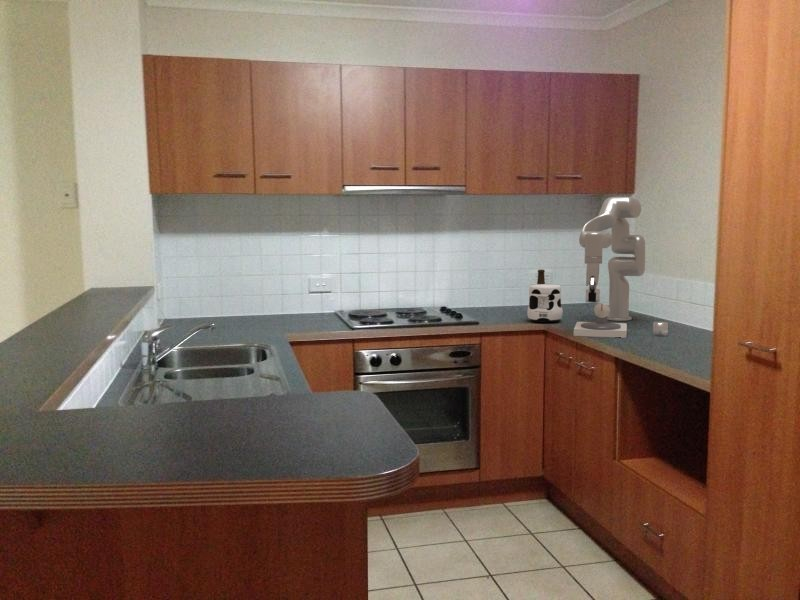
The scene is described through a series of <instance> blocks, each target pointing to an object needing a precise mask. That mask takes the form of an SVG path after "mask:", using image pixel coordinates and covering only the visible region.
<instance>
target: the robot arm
mask: <svg viewBox="0 0 800 600" xmlns="http://www.w3.org/2000/svg"><path fill="white" fill-rule="evenodd" d="M601 205H602V206H601V208H600V211H599V212H598V215H596V216H595V217H593V218H592V219H590V220H589V221H587V222H586V223H585V224H584V226H583V227H582V229H581V231H580V234H579V237H578V238H579V239H578V242H579V245H580V246H581V247H582V248H584V265H585V264H586V271H585V272H586V273H585V286H586V287H588V289H589V294H588V301H589V302H588V303H590V302H596V293H595V292H596V289H597V286H599V285H598V284H599V281H600V280H599V279H600V277H599V276H600V265H602V264H603V249H608V248H609V247H611V251H612V253H614V254H618V255H634V256H612V257H611V258H610V259H609V260H608V263H607V269H608V277H609V278H608V279H609V286H608V287H609V289H608V290H609V293H608V294H609V295H608V306H609V308H610V313H609V315H608V319H607V321H615V322H616V321H617V322H625V321H626V322H627V321H631V320H632V319H633V318H632V316H629V313H630V311H629V309H630V306H629V305H630V284H629V281H628V280H627V279H626V277H642V276H643V275H644V274H645V270H646V269H645V268H646V241H645V238H644V236H643V235H640V234H630V223H629V221H628V220H627V219H634V218H638V217H639V216H640V215H641V212H642V204H641V202H640V201H639V200H638V199H636V198H635V197H632V196H609V197H607V198H606V199H605V200H604V201H603V203H602V204H601ZM608 229H609V230H610V229H611V232H609V231H606V230H608Z"/></svg>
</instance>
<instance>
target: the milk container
mask: <svg viewBox="0 0 800 600" xmlns="http://www.w3.org/2000/svg"><path fill="white" fill-rule="evenodd" d="M526 312H527V318H528V319H529V320H530V321H531V322H536V323H537V322H538V323H554V322H559V321H561V320H562V318H563V312H564V311H563V307H562V287H561V285H559V284H554V283H553V284H551V283H550V284H548V283H545V284H537V283H536V284H531V285H529V289H528V306H527V311H526Z"/></svg>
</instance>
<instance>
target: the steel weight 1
mask: <svg viewBox="0 0 800 600" xmlns="http://www.w3.org/2000/svg"><path fill="white" fill-rule="evenodd" d="M595 293H596V302H589V301H588V294H589V288H586V289H585V303H592V304H593V303H594V304H598V303H601V301H600V299H601V298H600V297H601V296H600V295H601V290H600V288H596V292H595Z"/></svg>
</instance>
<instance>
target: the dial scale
mask: <svg viewBox="0 0 800 600" xmlns="http://www.w3.org/2000/svg"><path fill="white" fill-rule="evenodd" d="M593 312H594V314H595V321H576V324H575V325H574V328H573V337H589V338H591V337H595V338H615V337H621V338H620V339H626V338H627V336H628V335H627V333H628V332H627V331H628V330H627V326H628V325H627V323H625V322H608V320H607V319H608V316H609V313H610V308H609V304H607V303H605V302H597V303H596V305H594V308H593Z"/></svg>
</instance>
